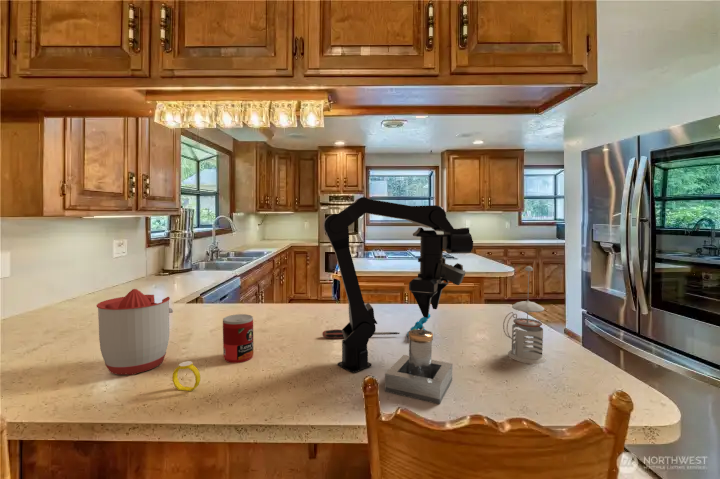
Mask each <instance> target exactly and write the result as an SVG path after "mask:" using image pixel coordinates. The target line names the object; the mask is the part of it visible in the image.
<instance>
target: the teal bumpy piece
mask: <svg viewBox="0 0 720 479" xmlns="http://www.w3.org/2000/svg"><path fill="white" fill-rule="evenodd" d="M430 318H431V314H430V313H429V315H428V317H427V318H426V317H423V316H422V317H421V318H420V319H419V320H418V321H416V322H415V323H414V326H412V327H410V329H409V330H408V331H407V334H406V336H407V337H408V338H409V331H411V330H426V329H425V326H424V324H425V323H427V322H428V321H429V319H430Z"/></svg>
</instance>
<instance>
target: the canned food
mask: <svg viewBox="0 0 720 479" xmlns="http://www.w3.org/2000/svg"><path fill="white" fill-rule="evenodd" d="M222 340H223V341H222V345H223V346H222V349H223V359H224V361H225V362H227V363H230V364H240V363H245V362H248V361H250V360H251V359H252V358H253V357H254V316H252V315H250V314H246V313H245V314H243V313H237V314H232V315H230V314H229V315H227V316H225V317H223V318H222Z"/></svg>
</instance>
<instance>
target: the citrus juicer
mask: <svg viewBox="0 0 720 479" xmlns="http://www.w3.org/2000/svg"><path fill="white" fill-rule="evenodd" d="M96 308H97V313H98V317H97V318H98V319H97V320H98V336H99V337H98V340H99V347H100V348H99V349H100V353H101V356H102V359H103V362H104V365H105V367H106V368H107V370H108V371H109V373H111V374H112V375H121V376H122V375H128V376H133V375H136V374H138V373H143V372H146V371H149V370H152V369H155V368H156V367H158V366H160V365H161V364H162V363H163V362H164V359H165V357H166V354H167V349H168V345H169V340H170V314H171V313H173V312H174V311H173V308H171V307H170V296H167V297H164V298H163V299H162V300H161V302H158V303H157V302H155V294H144V293H143V292H141V291H140V290H139V289H137V288H132V289H131V290H130V291H129V292H127V293H126V295H125V296H122V297H115V298H114V297H113V298H111V299H107V300H103V301H100V302H98V303H97V304H96Z"/></svg>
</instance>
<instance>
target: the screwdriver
mask: <svg viewBox="0 0 720 479" xmlns="http://www.w3.org/2000/svg"><path fill="white" fill-rule="evenodd" d="M400 334H401V333H400V332H397V331H395V332H394V331H392V332H391V331H384V332H383V331H381V332H380V331H375V332H374V334H373V336H375V335H376V336H378V335H381V336H382V335H383V336H385V335H387V336H388V335H400ZM321 335H322V337H323V338H326V339H344V337H343V334H342V329H340V328H339V329H336V328H335V329H328V330H327V329H325V330H324V331H323V332H322V334H321Z"/></svg>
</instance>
